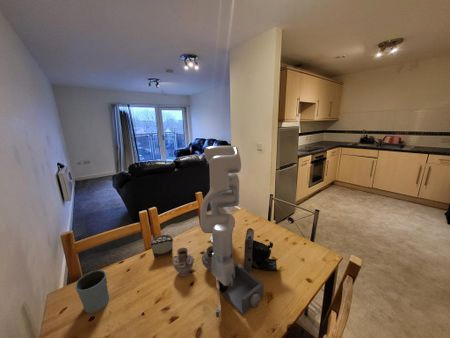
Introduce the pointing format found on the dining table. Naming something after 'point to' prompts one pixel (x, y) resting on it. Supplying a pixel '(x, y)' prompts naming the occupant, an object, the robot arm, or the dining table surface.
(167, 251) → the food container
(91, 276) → the grey green cup
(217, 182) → the robot arm
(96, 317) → the dining table surface
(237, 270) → the grey open drawer box
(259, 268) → the vintage camera
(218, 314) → the door
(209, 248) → the pottery
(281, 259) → the dining table surface
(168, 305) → the dining table surface
